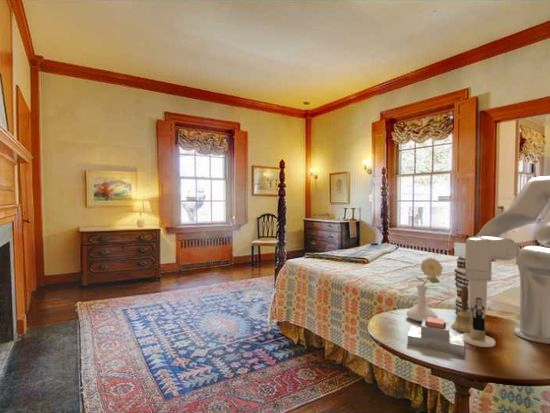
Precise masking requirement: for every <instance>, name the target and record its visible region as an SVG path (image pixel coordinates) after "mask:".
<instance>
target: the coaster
mask: <svg viewBox="0 0 550 413" xmlns="http://www.w3.org/2000/svg"><path fill="white" fill-rule="evenodd" d="M461 334H463V340H464V343H466V344H469V345H471V346H475V347H480V348H493V347H495V346H496V340H495V339H494V338H492V337H490V336H488V335H487V334H485V342H483V341H478V340H472V339H471V336H470V333H466V332H462V333H461Z"/></svg>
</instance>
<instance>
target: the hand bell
mask: <svg viewBox="0 0 550 413" xmlns="http://www.w3.org/2000/svg"><path fill="white" fill-rule="evenodd" d="M461 300H462V311H461V312H459V313H457V318H456V317H455V318H456V319H455V321H454V322H453V323H452V324H451V325H450V327H451V328H452V329H454V330H455V331H458V332H462V333H470V320H471V315H470V314H468V313H467V301H468V289H467V286H463V288H462V290H461Z"/></svg>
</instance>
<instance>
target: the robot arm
mask: <svg viewBox="0 0 550 413" xmlns="http://www.w3.org/2000/svg"><path fill="white" fill-rule="evenodd" d="M549 202H550V175H545V176H544V175H541V176H535V177H532V178H530V179H528V181H526V183H525V184H524V185H523V187H522V188H521V190H520V191H519V193H518V194H517V195H516V197H515V199H513V201H512V203H511V204H510V206H509V207H508V208H506V210H504V211H503V212H501V213H499V214H498V215H496V216H495V217H493V218H492V219H490V220H489V221H487V222H486V223H485V224H484V225H483V226H482V227H481V229H480V231H479V232H478V233H477V235H476V236H475V237H469V238H466V240H465V249H464V250H465V251H464V252H465V253H464V254H465V255H464V256H465V278H467V279H469V281H468V307H469V309H470V310H471V309H474V317H473V329H474V330H480V331H485V332H486V317H485V318H484V311H485V312H487V303H488V302H487V301H488V282H492V272H493V271H492V260H495V261H496V260H498V261H505V262H506V261H512V260H514V259H516V264H517V269H518V273H519V326H516V327H515V328H514V330H513V333H514V334H515V335H516V336H518V337H519V338H523V339H524V340H528V341H532V342H535V343H540V344H547V345H548V344H549V345H550V209H549V210H548V212H547V214H546V215H545V217H544V219H543V220H542V222H541V224H540V225H539V226H538V229H537V230H536V233H535V239H536V241H537V242H538V243H539V244H540V245H542V246H540V245H527V246H523V247H521V248H520V245H519V244H518V242H517V241H515V240H513V239H511V238H508V237H507V238H506V237H502V236H503V235H504V234H506V233H507V232H509V231H512V230H514V229H519V228H522V227H526V226H528V225H531V224H533V223H535V222H536V220H537V219H538V218H539V216H540V215H541V213H543V212H542V211H543V210H544V209H545V207H546V206H547V204H548V203H549Z"/></svg>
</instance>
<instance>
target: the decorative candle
mask: <svg viewBox="0 0 550 413" xmlns="http://www.w3.org/2000/svg"><path fill="white" fill-rule="evenodd" d="M455 260H456V265H457V266H456V268H455V269H454V272H455V273H454V276H455V278H454V281H455V283H454V284H455V289H456V295H455V302H456V303H455V306H456V307H455V308H454V309H455V312H454V313H455V316H454V317H455V318H457V313H459V312H461V311H462V300H461V290H462V288H463V286H467V289H468V281H469V279H467V278H465V255H459V257H457V258H456V259H455ZM467 313H468V314H470V315H471V310H470V309H469V307H468V301H467Z"/></svg>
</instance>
